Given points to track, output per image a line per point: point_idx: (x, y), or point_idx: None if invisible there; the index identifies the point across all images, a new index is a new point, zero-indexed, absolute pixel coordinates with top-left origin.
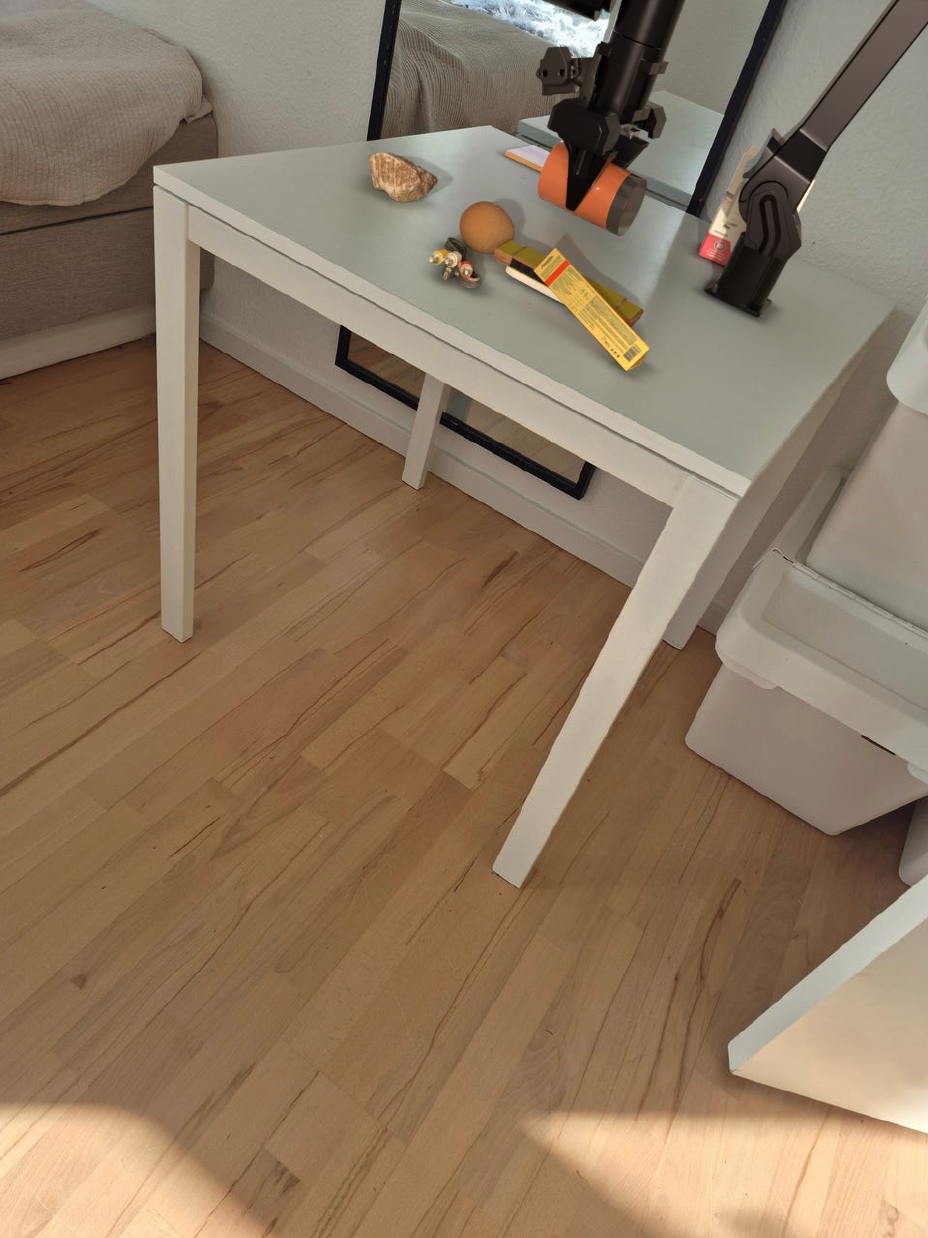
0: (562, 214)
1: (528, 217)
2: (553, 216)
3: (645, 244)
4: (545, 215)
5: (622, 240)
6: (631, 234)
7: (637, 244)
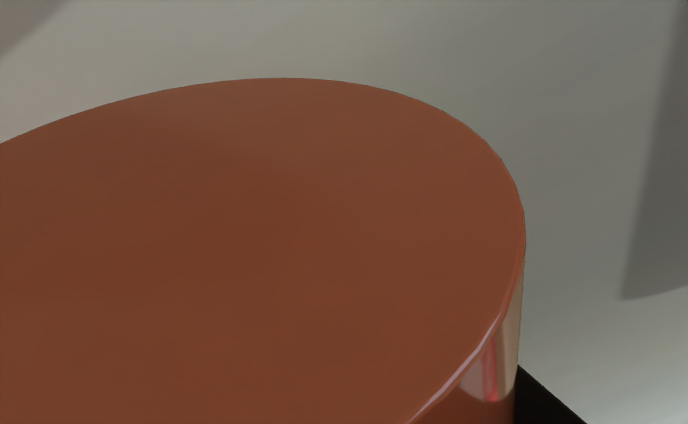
0: (498, 57)
1: (88, 28)
2: (372, 65)
3: (611, 398)
4: (310, 37)
5: (525, 359)
6: (673, 326)
7: (563, 393)
